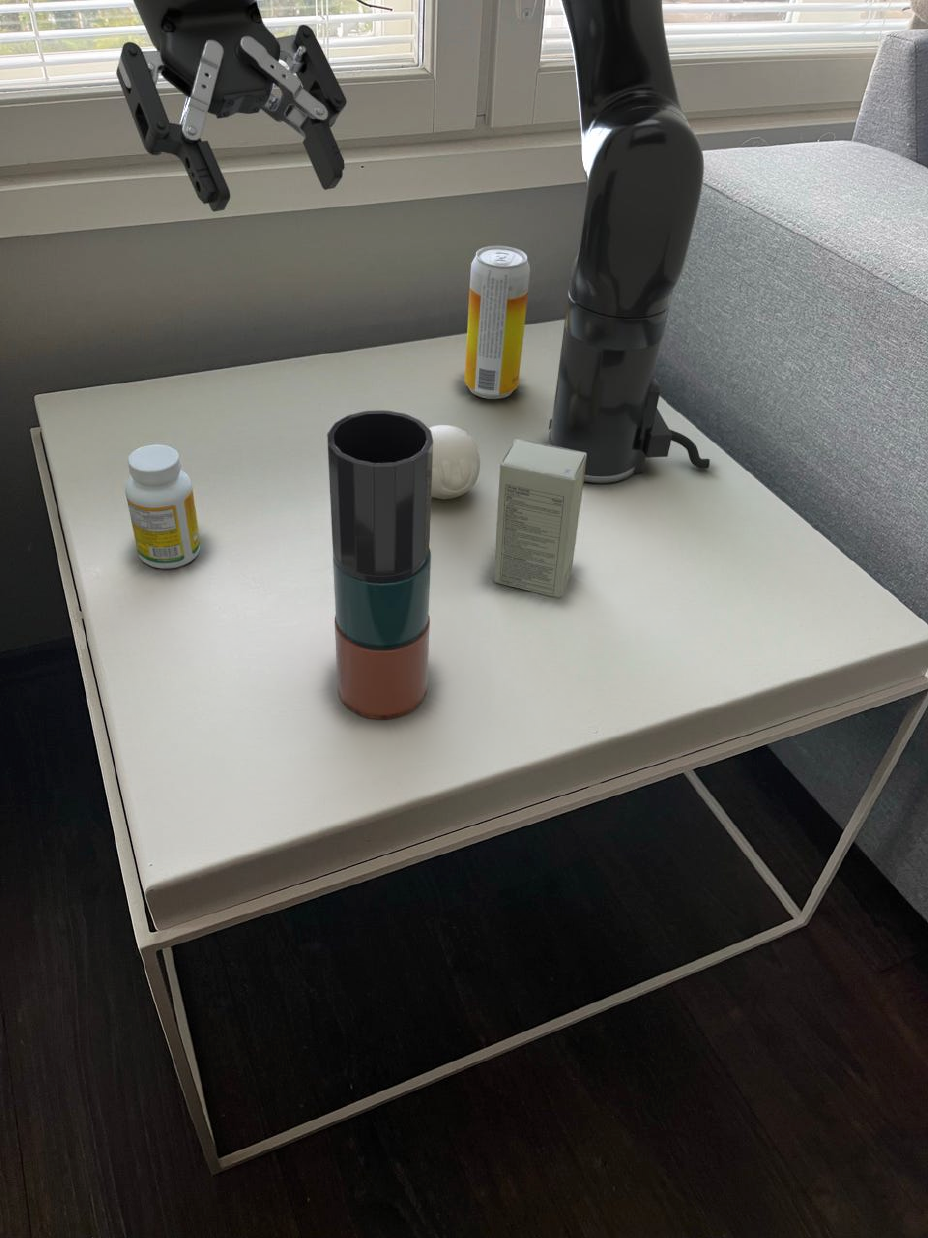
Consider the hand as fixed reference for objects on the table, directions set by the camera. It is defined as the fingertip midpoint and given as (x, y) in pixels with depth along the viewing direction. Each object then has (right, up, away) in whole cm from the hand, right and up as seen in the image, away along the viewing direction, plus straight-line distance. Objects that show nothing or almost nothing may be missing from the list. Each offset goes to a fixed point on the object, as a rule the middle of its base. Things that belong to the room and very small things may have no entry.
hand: (280, 193), depth 65 cm
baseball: (+10, -17, +29) cm, 35 cm away
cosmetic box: (+18, -25, +20) cm, 37 cm away
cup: (+7, -24, 0) cm, 25 cm away
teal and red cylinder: (+6, -34, +9) cm, 35 cm away
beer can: (+15, -3, +44) cm, 47 cm away
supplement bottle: (-13, -23, +20) cm, 33 cm away
